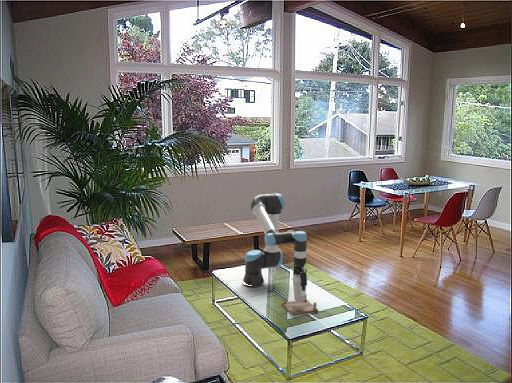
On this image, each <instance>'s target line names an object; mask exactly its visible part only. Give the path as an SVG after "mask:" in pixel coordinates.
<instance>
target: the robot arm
mask: <svg viewBox="0 0 512 383" xmlns="http://www.w3.org/2000/svg"><path fill="white" fill-rule="evenodd" d="M285 206H286V205H285V200H284V197H283V195H282V194H281V193H276V192H275V193H261V194H258V195H256V196H254V197H253V198H252V200H251V203H250V210H251V213H252V214H253V215H254V216H255V217H256V218H257V221H258V223H259V225H260V226H261V229H262V230H263V232H264V237H263V239H264V240H263V241H264V243H265V247H264V248H263V251H261V250H259V249H253V250H250V251H248V252H246V253H245V256H244V257H245V258H244V262H245V263H244V267H245V268H244V270H245V272H244V276H243V278H242V282H243V281H244V282H245V283H246V284H248V285H252V286H260V285H262V284H263V283H264V284H265V280H264V277H263V276H264V275H263V273H262V271H263V269H264V270H265V269H273V268H274V269H275V268H278V267H280V266H282V263H283V260H284V257H283V252H282V251H281V248H279V246H281V245H282V246H283V245H293V256H294V257H293V273H292V277H293V276H294V275H295V274H296V275H298V274H300V278H301V285H300V286H301V292H300V295H301V296H304V295H305V286H306V287H307V286H308V280H307V278H308V276H307V268H305V265H306V264H307V252H308V251H307V239H308V238H307V232H305V231H303V230H302V231H301V230H297V231H295V230H293V229H289V230H287V231H284V232H283V231H282V232H279V230H280V229H279V227H280V226H279V224H280V222H279V221H280V215H281V214H282V211H283V210H284V209H285ZM262 286H263V285H262ZM260 287H261V286H260Z"/></svg>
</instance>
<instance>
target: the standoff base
mask: <svg viewBox="0 0 512 383" xmlns="http://www.w3.org/2000/svg"><path fill="white" fill-rule="evenodd" d="M282 298H283V301H282V302H281V306H282V307H283V308H284V309H285V310H286V311H287V312H288V313H289V314H290V315H291V316H299V315H300V316H301V315H304V314H312V313H319V309H318V308H317V302H315V301H314V302H313V304H312V303H311V302H310V301H309V300H308V299H307V294H306V295H305V300H304V301H296V300H290V301H287V297H286V296H283V297H282Z"/></svg>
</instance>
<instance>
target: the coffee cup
mask: <svg viewBox="0 0 512 383" xmlns="http://www.w3.org/2000/svg"><path fill="white" fill-rule="evenodd" d="M308 279H309V278H308V277H307V281H308ZM291 280H292V285H293V287H292V288H293V298H294V301H304V300H305V295H306V293H307V285H306V286H305V295H304V296H301V295H300V292H301V286H300V285H301V278H300V274H298V275H296V274H295V275H294V276H293V275H292V278H291Z"/></svg>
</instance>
